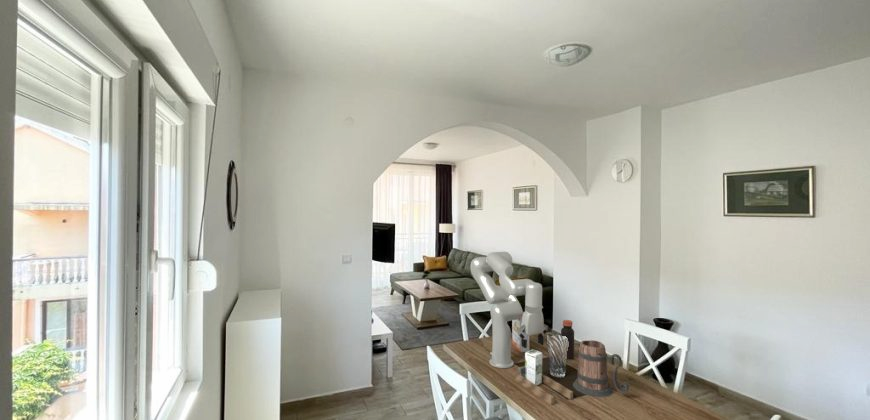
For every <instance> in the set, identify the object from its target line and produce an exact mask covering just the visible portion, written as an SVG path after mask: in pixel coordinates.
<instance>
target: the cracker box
mask: <svg viewBox="0 0 870 420" xmlns="http://www.w3.org/2000/svg"><path fill="white" fill-rule="evenodd" d="M524 312H525V311H523V313H524ZM522 316H523V314H522ZM511 322H512V323H511V325H512V326H511V330H512V332H511V334H512V335H511V336H512V338H511V339H512V342H511V343H512V345H513V346H514V347H515V348H516V349H517V350H518V352H519V353H525V352H528V351H530V335H528V336H527V338H526V340H527V348H524V347H522V346H521V338H520V336H519V335H518V332H517V330H518V329H519V328H520V327H521V323H522V317H521V318H520V319H517V320H511ZM521 333H523V332H521ZM524 336H525V335H524Z"/></svg>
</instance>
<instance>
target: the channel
mask: <svg viewBox="0 0 870 420" xmlns="http://www.w3.org/2000/svg"><path fill="white" fill-rule="evenodd" d="M517 370H518V371H517V373H515V381H516V382H517V383H518V384H520V385H522V386H523V387H525V388H526V389H527V390H529V391H530V392H531V393H533V394H535V395H536V396H538V398H540V399H542V400H544V402H546V403H547V404H549V405H550V406H553V405H555V397H554V396H553V395H552V394H550V393H548V392H547V391H545V390H544V389H543V388H541V387H540V386H539V385H537V386H536V385H535V384H533V383H532V382H530V381H529V380H527V379H526V378H525V365H524V366H518V368H517ZM542 383H543V384H544V385H546V386H548V387H550V388H551V389H553V390H554V391H556V392H557V393H559V394H560V395H562V396H564V397H565V398H567V399H569V400H574V391H572V390H570V389H569V388H567V387H566V386H564V385H562V384H560V383H559V382H557V381H555V380H554V379H552V378H551V377H549V376H548V375H546V374H544V373H542Z"/></svg>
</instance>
